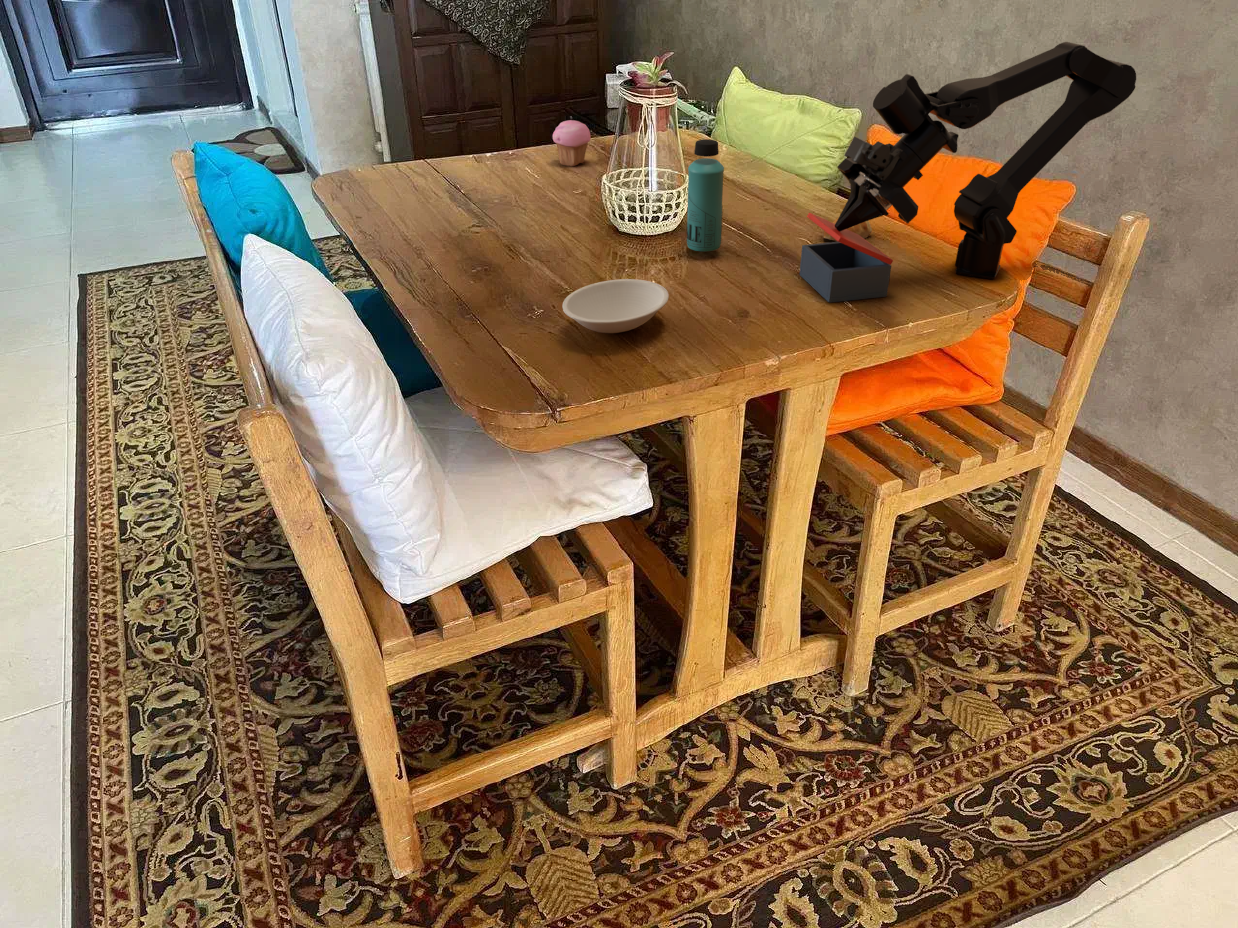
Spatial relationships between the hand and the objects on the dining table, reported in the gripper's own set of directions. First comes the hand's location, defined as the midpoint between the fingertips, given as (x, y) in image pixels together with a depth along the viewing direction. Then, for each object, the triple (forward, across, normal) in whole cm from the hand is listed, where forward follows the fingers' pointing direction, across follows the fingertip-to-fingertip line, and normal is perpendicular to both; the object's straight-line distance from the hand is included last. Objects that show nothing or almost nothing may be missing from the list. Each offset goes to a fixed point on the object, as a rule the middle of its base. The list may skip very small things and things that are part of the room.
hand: (836, 229), depth 148 cm
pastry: (-2, -22, +16) cm, 28 cm away
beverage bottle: (+18, -20, -4) cm, 28 cm away
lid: (0, 0, +3) cm, 3 cm away
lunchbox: (+5, 0, +8) cm, 10 cm away
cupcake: (+27, -87, -13) cm, 92 cm away
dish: (+34, +8, -20) cm, 40 cm away
